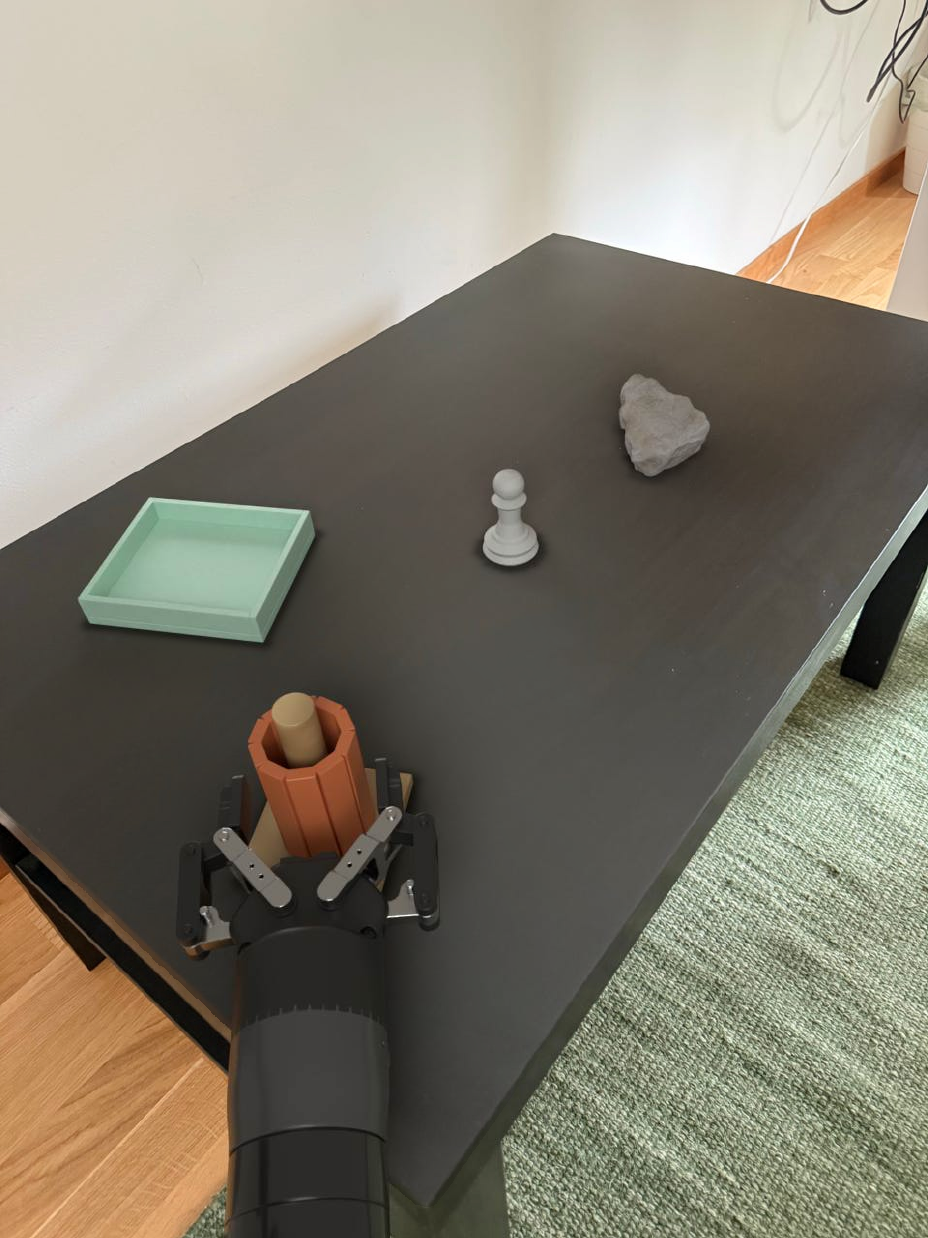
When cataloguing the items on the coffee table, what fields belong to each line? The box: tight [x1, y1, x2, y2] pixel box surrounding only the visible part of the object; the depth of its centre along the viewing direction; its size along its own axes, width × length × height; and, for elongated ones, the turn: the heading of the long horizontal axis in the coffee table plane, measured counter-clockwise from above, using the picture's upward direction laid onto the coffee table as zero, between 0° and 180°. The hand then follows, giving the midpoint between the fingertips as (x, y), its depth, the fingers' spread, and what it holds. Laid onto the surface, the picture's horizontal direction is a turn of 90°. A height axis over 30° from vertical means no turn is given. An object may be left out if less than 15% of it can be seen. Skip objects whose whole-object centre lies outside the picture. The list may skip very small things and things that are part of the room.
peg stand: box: [248, 692, 414, 893], centre depth 56 cm, size 9×9×12 cm
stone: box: [618, 373, 711, 477], centre depth 86 cm, size 10×8×6 cm
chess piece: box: [482, 468, 540, 567], centre depth 76 cm, size 5×5×8 cm
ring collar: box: [247, 695, 375, 858], centre depth 57 cm, size 6×6×9 cm
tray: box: [77, 497, 316, 643], centre depth 78 cm, size 15×13×3 cm
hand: (312, 774), depth 56 cm, fingers open, 8 cm apart
